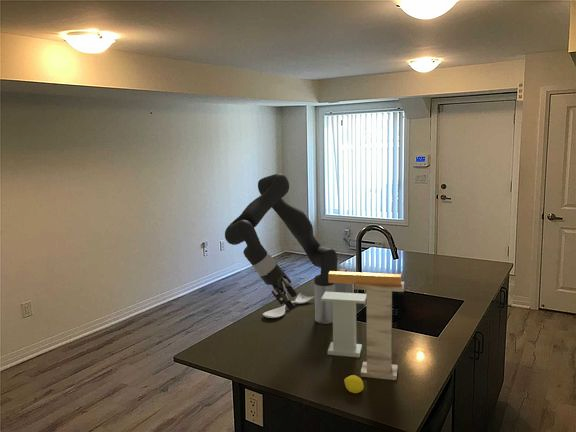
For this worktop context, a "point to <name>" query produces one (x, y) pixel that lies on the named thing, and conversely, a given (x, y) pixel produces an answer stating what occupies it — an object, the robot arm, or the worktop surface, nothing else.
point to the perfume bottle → (343, 285)
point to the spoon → (281, 311)
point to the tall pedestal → (379, 331)
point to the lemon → (354, 384)
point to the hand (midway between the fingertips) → (293, 302)
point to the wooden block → (364, 278)
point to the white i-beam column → (344, 323)
